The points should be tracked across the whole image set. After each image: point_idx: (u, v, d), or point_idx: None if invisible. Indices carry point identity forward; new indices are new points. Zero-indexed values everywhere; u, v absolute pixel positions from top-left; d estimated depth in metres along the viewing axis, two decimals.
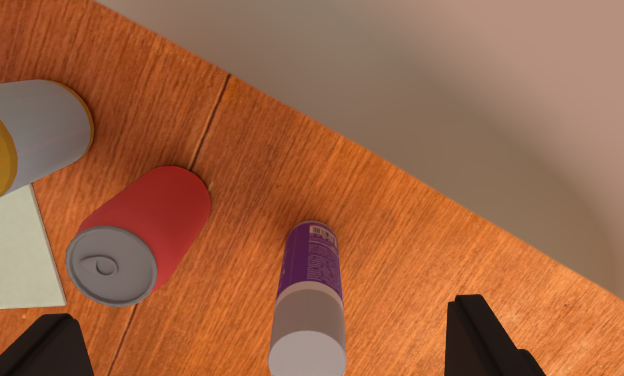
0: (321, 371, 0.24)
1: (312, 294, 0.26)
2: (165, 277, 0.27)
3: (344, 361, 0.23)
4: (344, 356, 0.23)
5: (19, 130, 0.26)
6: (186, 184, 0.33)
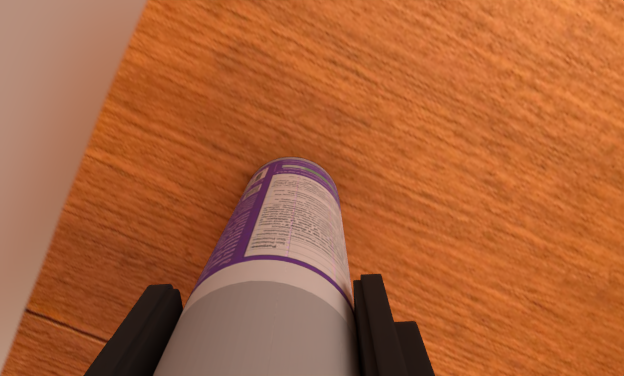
0: None
1: None
2: None
3: None
4: None
5: None
6: None
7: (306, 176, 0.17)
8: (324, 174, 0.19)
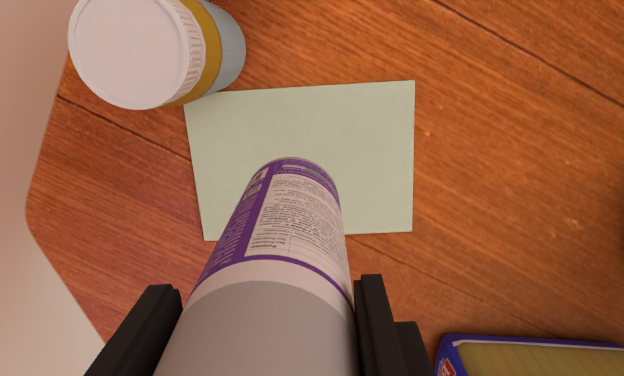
0: None
1: None
2: None
3: None
4: None
5: None
6: None
7: (306, 176, 0.17)
8: (324, 174, 0.19)
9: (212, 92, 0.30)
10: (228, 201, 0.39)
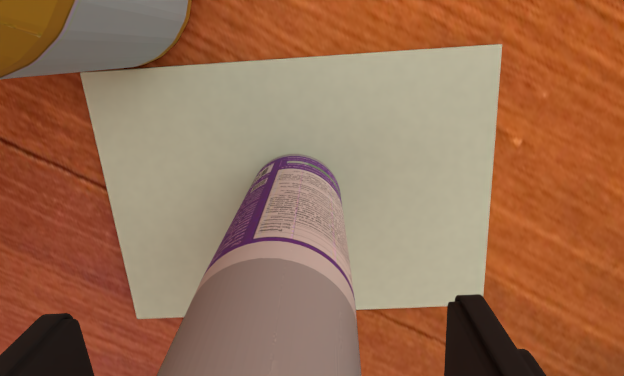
0: None
1: None
2: None
3: None
4: None
5: None
6: None
7: (310, 171, 0.18)
8: (326, 170, 0.20)
9: (100, 58, 0.14)
10: (173, 256, 0.23)
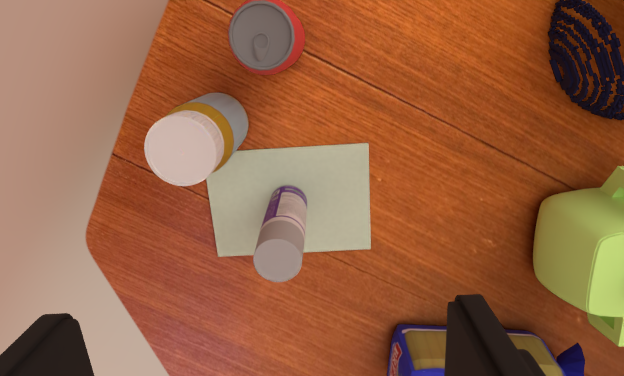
0: (283, 252, 0.37)
1: None
2: (279, 2, 0.35)
3: (275, 239, 0.37)
4: (271, 240, 0.37)
5: None
6: None
7: (293, 193, 0.48)
8: (300, 191, 0.50)
9: None
10: (235, 228, 0.53)
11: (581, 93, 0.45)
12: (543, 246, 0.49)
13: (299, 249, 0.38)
